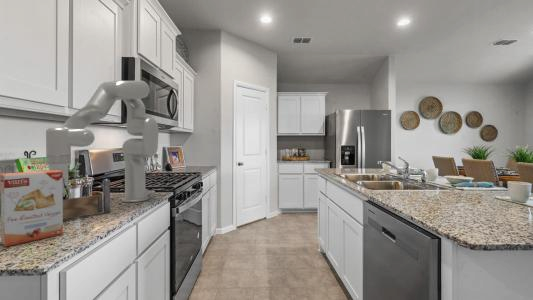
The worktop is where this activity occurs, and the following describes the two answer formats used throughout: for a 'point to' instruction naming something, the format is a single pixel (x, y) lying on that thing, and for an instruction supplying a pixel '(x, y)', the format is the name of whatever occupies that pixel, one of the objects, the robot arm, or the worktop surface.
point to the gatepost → (106, 196)
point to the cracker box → (31, 206)
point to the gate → (82, 206)
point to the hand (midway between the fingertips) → (59, 207)
